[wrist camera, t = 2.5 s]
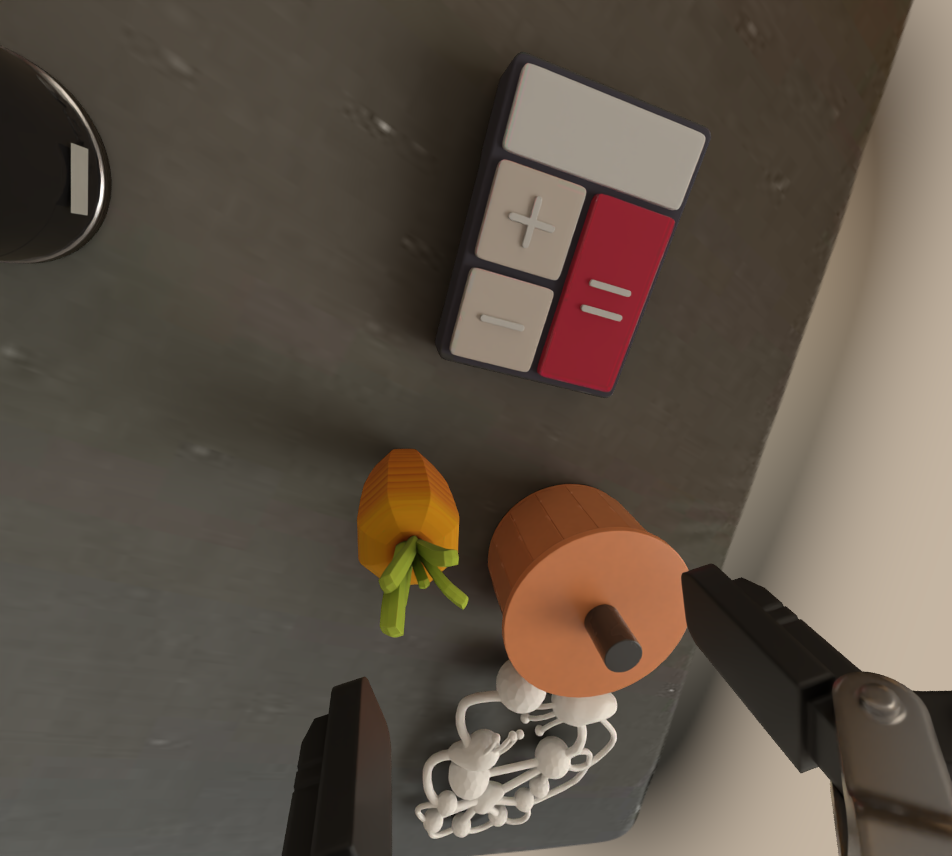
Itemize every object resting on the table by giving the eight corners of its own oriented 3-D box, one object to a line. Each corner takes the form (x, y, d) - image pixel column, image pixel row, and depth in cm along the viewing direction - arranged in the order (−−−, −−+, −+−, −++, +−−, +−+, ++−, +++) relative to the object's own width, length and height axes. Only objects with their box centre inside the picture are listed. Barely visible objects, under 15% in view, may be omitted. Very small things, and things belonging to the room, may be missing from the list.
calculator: (438, 361, 27) (520, 41, 22) (432, 345, 31) (501, 70, 26) (616, 404, 29) (725, 126, 25) (590, 384, 33) (678, 141, 28)
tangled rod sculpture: (509, 825, 47) (523, 877, 43) (372, 804, 41) (374, 862, 37) (631, 679, 42) (657, 723, 39) (496, 635, 37) (512, 681, 33)
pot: (504, 631, 38) (529, 706, 31) (472, 509, 34) (492, 566, 28) (638, 589, 39) (688, 654, 32) (621, 465, 35) (673, 511, 28)
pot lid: (520, 706, 32) (538, 767, 28) (479, 556, 28) (494, 602, 24) (690, 650, 33) (730, 701, 29) (675, 496, 29) (719, 532, 25)
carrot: (423, 407, 31) (454, 526, 17) (451, 473, 33) (499, 629, 19) (350, 437, 31) (319, 581, 17) (382, 501, 33) (378, 681, 19)
